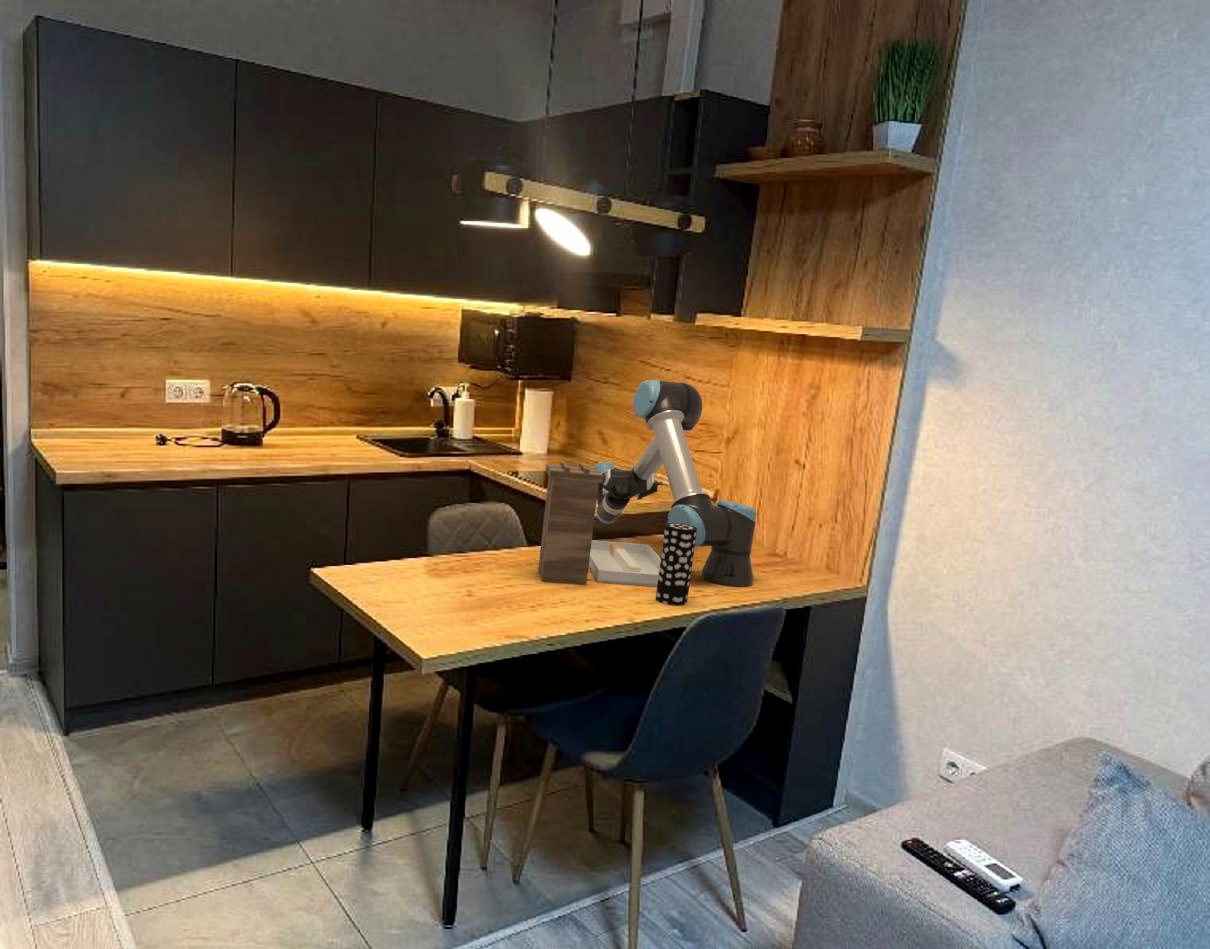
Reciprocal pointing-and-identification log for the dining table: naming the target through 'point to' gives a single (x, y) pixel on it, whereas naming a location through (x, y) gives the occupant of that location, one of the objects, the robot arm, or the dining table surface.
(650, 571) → the tray
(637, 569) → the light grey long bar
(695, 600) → the dining table surface
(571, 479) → the stand
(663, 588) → the spotted tube
